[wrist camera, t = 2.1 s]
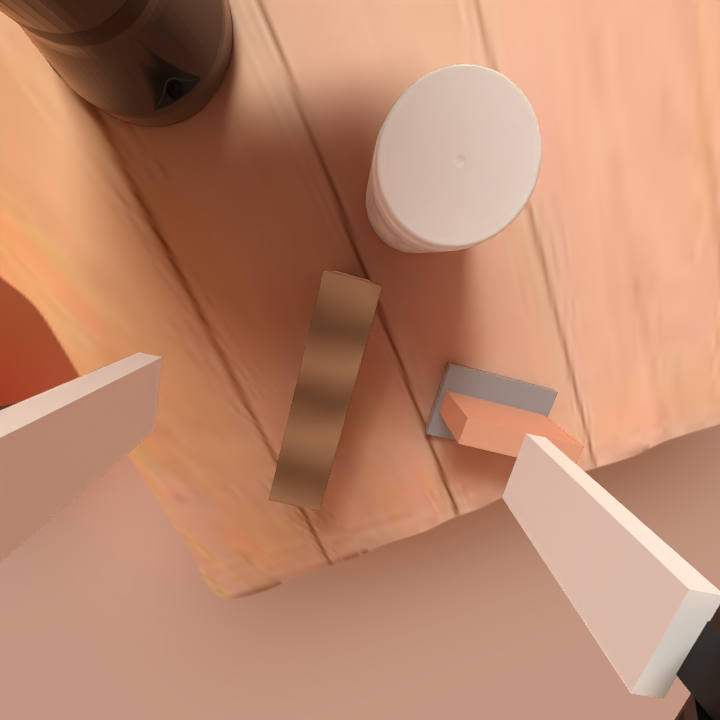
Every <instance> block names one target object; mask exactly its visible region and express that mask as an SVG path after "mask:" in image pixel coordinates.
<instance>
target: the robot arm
mask: <svg viewBox="0 0 720 720" xmlns="http://www.w3.org/2000/svg"><path fill="white" fill-rule="evenodd" d="M0 11H1V12H3V13H4V14H6V15H7V16H9V17H10V18H11V19H13V20H14V21H15V22H17V23H18V24H19V25H20V27H21V28H22V29H23V30H24V32H25V33H26V34H27V36H28V37H29V38H30V39H31V41H32V42H33V43H34V44H35V46H36V47H37V48H38V49H39V51H40V52H41V53H42V54H43V56H44V57H45V58H46V60H47V61H48V63H49V64H50V66H51V67H52V68H53V69H54V71H55V72H56V73H57V74H58V75H59V77H60V78H61V79H62V80H63V81H64V82H65V83H66V84H67V85H68V86H69V87H71V88H72V89H73V90H74V91H75V92H76V93H77V94H79V95H80V96H81V97H83V98H84V99H85V100H87V101H88V102H90V103H91V104H93V105H95V106H96V107H98V108H99V109H101V110H103V111H104V112H106V113H108V114H109V115H111V116H113V117H115V118H117V119H120V120H122V121H125V122H128V123H131V124H135V125H141V126H154V127H156V126H166V125H171V124H175V123H178V122H180V121H183V120H185V119H187V118H189V117H191V116H192V115H194V114H195V113H197V112H198V111H199V110H201V109H202V108H203V107H204V106H205V105H206V104H207V103H208V102H209V101H210V100H211V98H212V97H213V96H214V94H215V93H216V91H217V90H218V88H219V86H220V85H221V83H222V81H223V78H224V76H225V73H226V71H227V68H228V64H229V60H230V55H231V48H232V19H231V12H230V7H229V2H228V0H0ZM161 365H162V357H159V356H155V355H150V354H145V353H140V352H138V353H136V354H134V355H131V356H129V357H126V358H124V359H122V360H119V361H117V362H114V363H112V364H110V365H107V366H105V367H103V368H100V369H98V370H95V371H93V372H91V373H88V374H86V375H84V376H81V377H79V378H77V379H74V380H72V381H69V382H67V383H65V384H62V385H60V386H57V387H55V388H53V389H50V390H48V391H46V392H43V393H41V394H38V395H36V396H34V397H31V398H29V399H26V400H24V401H22V402H19V403H15V404H11V405H6V406H2V407H0V563H1V562H2V561H3V560H4V559H5V558H6V557H8V556H9V555H10V554H11V553H12V552H13V551H15V550H16V549H17V548H18V547H19V546H20V545H22V544H23V543H24V542H25V541H26V540H27V539H29V538H30V537H31V536H32V535H33V534H34V533H36V532H37V531H38V530H39V529H40V528H41V527H43V526H44V525H45V524H46V523H47V522H48V521H50V520H51V519H52V518H53V517H54V516H55V515H57V514H58V513H59V512H60V511H61V510H62V509H64V508H65V507H66V506H67V505H68V504H69V503H71V502H72V501H73V500H74V499H75V498H77V497H78V496H79V495H80V494H81V493H82V492H84V491H85V490H86V489H87V488H88V487H89V486H90V485H92V484H93V483H94V482H95V481H96V480H98V479H99V478H100V477H101V476H102V475H103V474H104V473H106V472H107V471H108V470H109V469H110V468H112V467H113V466H114V465H115V464H116V463H117V462H119V461H120V460H121V459H122V458H123V457H124V456H126V455H127V454H128V453H129V452H130V451H131V450H133V449H134V448H135V447H136V446H137V445H138V444H140V443H141V442H142V441H143V440H144V439H145V438H147V437H148V436H149V435H150V434H151V433H152V432H154V431H155V424H156V414H157V404H158V394H159V385H160V375H161ZM502 498H503V499H504V501H505V502H506V504H507V505H508V507H509V508H510V510H511V512H512V513H513V515H514V516H515V517H516V519H517V521H518V522H519V524H520V525H521V527H522V528H523V530H524V531H525V533H526V534H527V536H528V538H529V539H530V540H531V542H532V543H533V545H534V547H535V548H536V550H537V551H538V553H539V554H540V556H541V557H542V559H543V560H544V562H545V563H546V565H547V566H548V568H549V570H550V571H551V573H552V574H553V576H554V577H555V579H556V580H557V582H558V583H559V585H560V586H561V588H562V589H563V591H564V592H565V594H566V595H567V597H568V599H569V600H570V602H571V603H572V605H573V606H574V608H575V609H576V611H577V612H578V614H579V615H580V617H581V618H582V620H583V621H584V623H585V624H586V626H587V627H588V629H589V631H590V632H591V633H592V635H593V637H594V638H595V639H596V641H597V643H598V644H599V646H600V647H601V649H602V650H603V652H604V653H605V655H606V656H607V658H608V660H609V661H610V662H611V664H612V666H613V667H614V669H615V670H616V672H617V673H618V675H619V676H620V678H621V679H622V681H623V682H624V684H625V685H626V687H627V688H628V690H629V692H630V693H631V694H638V695H645V696H652V697H658V698H664V697H665V695H666V694H667V692H668V690H669V689H670V687H671V685H672V684H673V682H674V680H675V679H676V677H677V676H678V677H679V679H680V680H681V681H682V682H683V684H684V685H685V686H686V687H687V689H688V690H689V691H690V692H691V694H690V696H689V698H688V699H687V701H686V702H685V704H684V706H683V707H682V709H681V711H680V712H679V714H678V715H677V717H676V719H675V720H720V591H719V590H718V589H717V588H715V587H714V586H713V585H712V584H711V583H710V582H709V581H708V580H707V579H705V578H704V577H703V576H702V575H701V574H700V573H699V572H697V571H696V570H695V569H694V568H693V567H692V566H691V565H690V564H688V563H687V562H686V561H685V560H684V559H683V558H682V557H680V556H679V555H678V554H677V553H676V552H675V551H674V550H673V549H671V548H670V547H669V546H668V545H667V544H666V543H665V542H664V541H662V540H661V539H660V538H659V537H658V536H656V535H655V534H654V533H653V532H652V531H651V530H650V529H649V528H648V527H646V526H645V525H644V524H643V523H642V522H641V521H640V520H639V519H637V518H636V517H635V516H634V515H633V514H632V513H631V512H630V511H628V510H627V509H626V508H625V507H624V506H623V505H622V504H620V503H619V502H618V501H617V500H616V499H615V498H614V497H612V496H611V495H610V494H609V493H608V492H607V491H606V490H605V489H603V488H602V487H601V486H600V485H599V484H598V483H597V482H595V481H594V480H593V479H592V478H591V477H590V476H589V475H588V474H586V473H585V472H584V471H583V470H582V469H581V468H580V467H579V466H577V465H576V464H575V463H574V462H573V461H572V460H571V459H569V458H568V457H567V456H566V455H565V454H564V453H563V452H562V451H560V450H559V449H558V448H557V447H556V446H555V445H554V444H552V443H551V442H550V441H549V440H548V439H547V438H546V437H541V436H536V435H531V434H527V433H526V435H525V438H524V441H523V443H522V446H521V449H520V451H519V454H518V457H517V459H516V462H515V465H514V467H513V470H512V472H511V475H510V478H509V480H508V483H507V486H506V488H505V491H504V494H503V496H502Z"/></svg>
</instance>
